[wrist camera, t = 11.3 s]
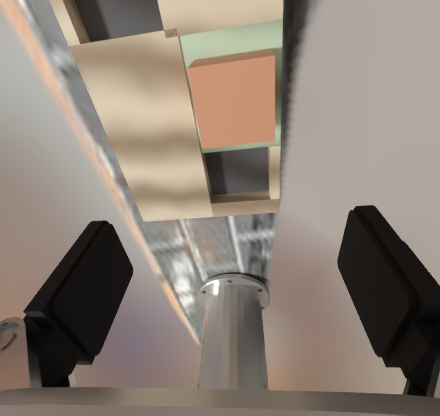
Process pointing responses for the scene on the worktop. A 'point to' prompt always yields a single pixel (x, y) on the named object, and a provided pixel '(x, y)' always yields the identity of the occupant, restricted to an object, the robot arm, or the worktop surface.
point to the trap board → (175, 99)
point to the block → (234, 98)
